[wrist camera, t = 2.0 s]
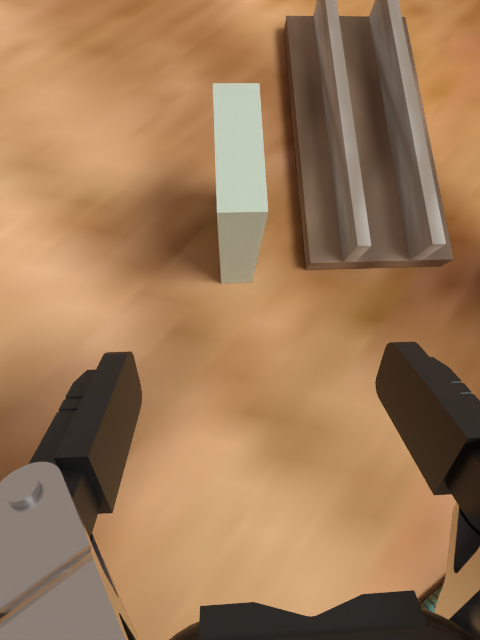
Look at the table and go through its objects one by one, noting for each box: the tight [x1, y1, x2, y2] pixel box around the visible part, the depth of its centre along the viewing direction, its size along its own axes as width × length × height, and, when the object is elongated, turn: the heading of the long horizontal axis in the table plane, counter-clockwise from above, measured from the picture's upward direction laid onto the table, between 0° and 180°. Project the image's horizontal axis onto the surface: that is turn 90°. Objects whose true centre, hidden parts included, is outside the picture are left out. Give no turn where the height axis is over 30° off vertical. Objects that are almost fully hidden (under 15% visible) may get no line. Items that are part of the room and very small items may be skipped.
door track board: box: [284, 0, 453, 270], centre depth 28 cm, size 12×26×4 cm, turn 2°
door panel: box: [213, 83, 268, 284], centre depth 22 cm, size 3×8×11 cm, turn 3°
